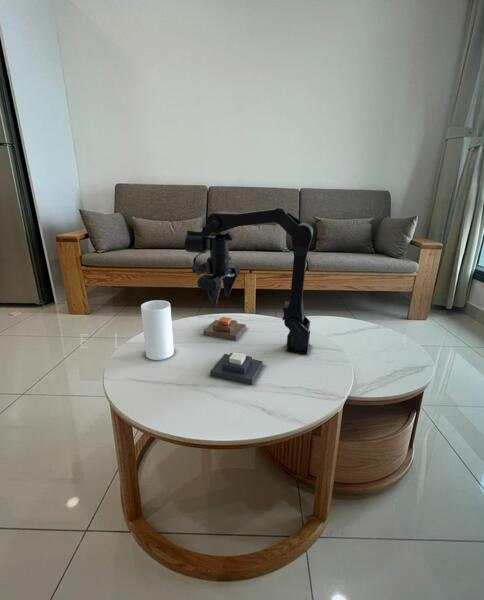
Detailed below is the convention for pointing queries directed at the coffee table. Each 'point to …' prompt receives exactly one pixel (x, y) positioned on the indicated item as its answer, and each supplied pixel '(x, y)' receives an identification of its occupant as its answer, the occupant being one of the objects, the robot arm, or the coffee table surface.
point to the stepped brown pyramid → (225, 330)
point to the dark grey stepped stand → (237, 370)
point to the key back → (225, 321)
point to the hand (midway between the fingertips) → (220, 301)
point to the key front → (237, 358)
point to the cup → (157, 329)
